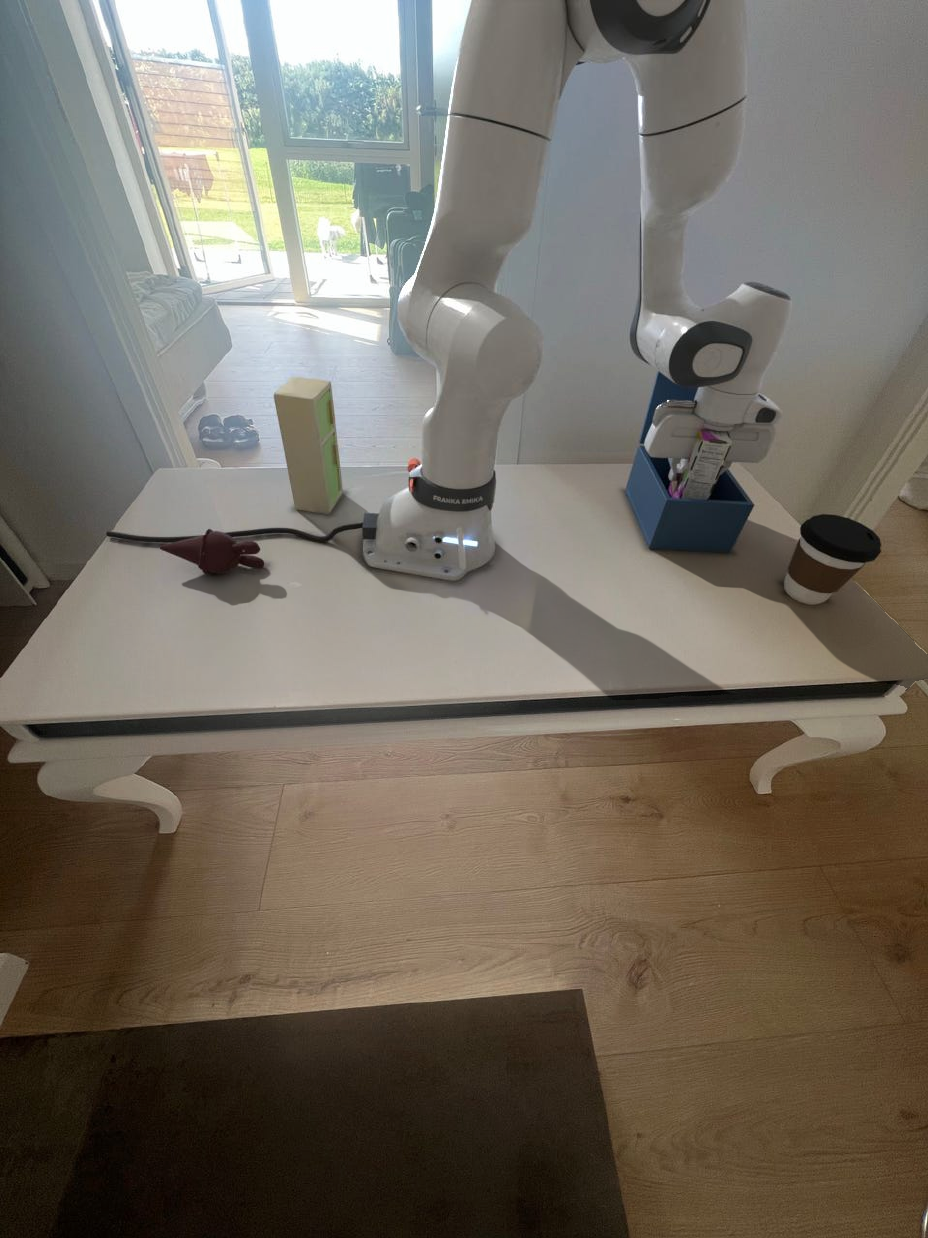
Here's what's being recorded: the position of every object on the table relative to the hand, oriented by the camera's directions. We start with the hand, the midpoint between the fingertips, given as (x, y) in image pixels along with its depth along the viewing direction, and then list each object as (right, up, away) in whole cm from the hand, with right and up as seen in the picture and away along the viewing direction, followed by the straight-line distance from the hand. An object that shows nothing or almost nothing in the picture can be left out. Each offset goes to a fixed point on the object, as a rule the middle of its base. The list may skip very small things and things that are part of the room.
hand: (691, 480), depth 93 cm
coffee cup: (+15, -20, -7) cm, 27 cm away
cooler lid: (+1, +16, 0) cm, 16 cm away
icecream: (-79, -17, -11) cm, 82 cm away
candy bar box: (0, -5, +5) cm, 6 cm away
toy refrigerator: (-67, -3, +5) cm, 68 cm away
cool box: (0, -6, +7) cm, 9 cm away
